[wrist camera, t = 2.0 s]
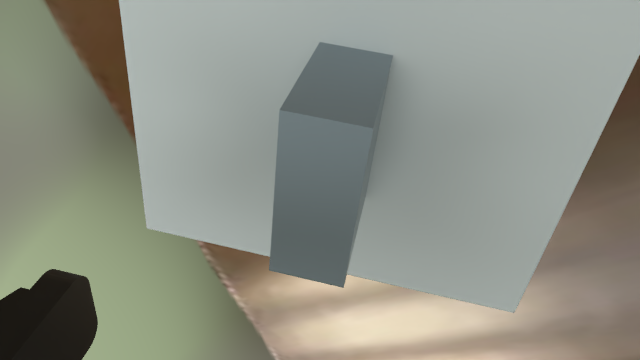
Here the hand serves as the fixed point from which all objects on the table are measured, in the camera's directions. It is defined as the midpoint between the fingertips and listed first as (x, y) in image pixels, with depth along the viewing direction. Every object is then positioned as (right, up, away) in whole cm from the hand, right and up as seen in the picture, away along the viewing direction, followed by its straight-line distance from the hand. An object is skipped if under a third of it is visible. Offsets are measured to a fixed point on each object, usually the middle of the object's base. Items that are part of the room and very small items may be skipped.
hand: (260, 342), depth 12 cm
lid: (+3, +7, +10) cm, 12 cm away
